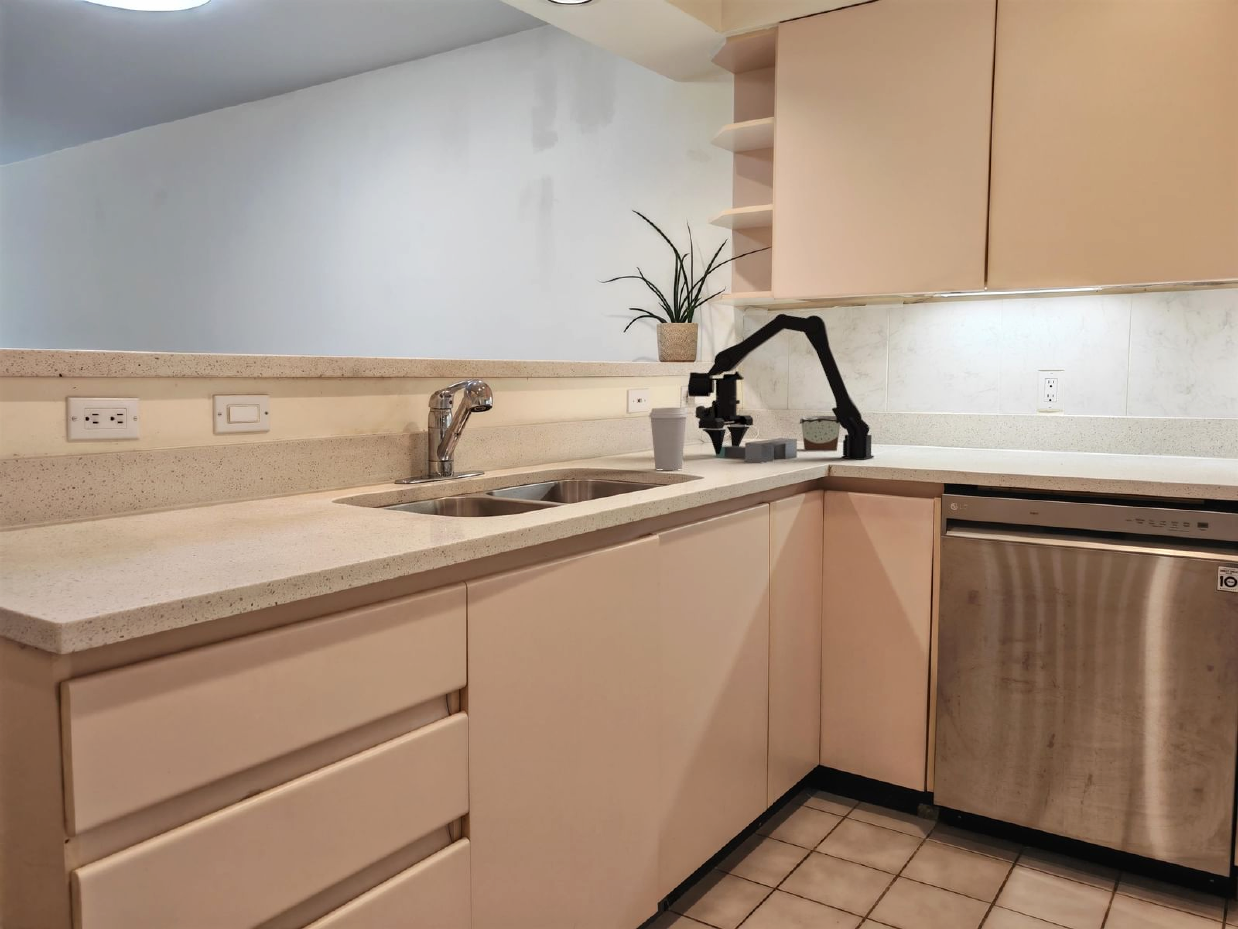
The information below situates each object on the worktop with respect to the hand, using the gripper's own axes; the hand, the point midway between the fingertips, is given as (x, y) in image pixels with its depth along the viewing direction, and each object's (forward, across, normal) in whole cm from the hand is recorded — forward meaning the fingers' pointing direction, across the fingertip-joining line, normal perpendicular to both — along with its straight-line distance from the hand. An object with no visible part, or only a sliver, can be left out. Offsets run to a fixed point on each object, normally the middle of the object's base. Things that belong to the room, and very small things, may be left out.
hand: (726, 452), depth 251 cm
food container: (+1, -31, +12) cm, 33 cm away
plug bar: (+1, 0, +4) cm, 4 cm away
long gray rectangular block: (+1, 0, +14) cm, 15 cm away
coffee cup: (+1, +34, +6) cm, 35 cm away
